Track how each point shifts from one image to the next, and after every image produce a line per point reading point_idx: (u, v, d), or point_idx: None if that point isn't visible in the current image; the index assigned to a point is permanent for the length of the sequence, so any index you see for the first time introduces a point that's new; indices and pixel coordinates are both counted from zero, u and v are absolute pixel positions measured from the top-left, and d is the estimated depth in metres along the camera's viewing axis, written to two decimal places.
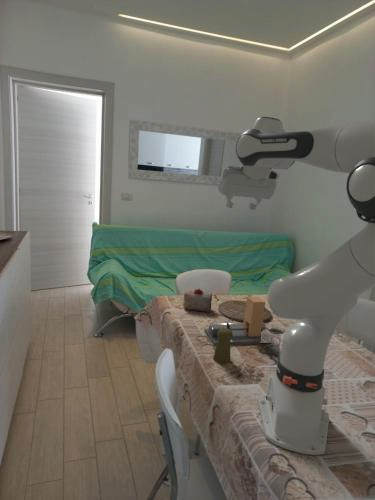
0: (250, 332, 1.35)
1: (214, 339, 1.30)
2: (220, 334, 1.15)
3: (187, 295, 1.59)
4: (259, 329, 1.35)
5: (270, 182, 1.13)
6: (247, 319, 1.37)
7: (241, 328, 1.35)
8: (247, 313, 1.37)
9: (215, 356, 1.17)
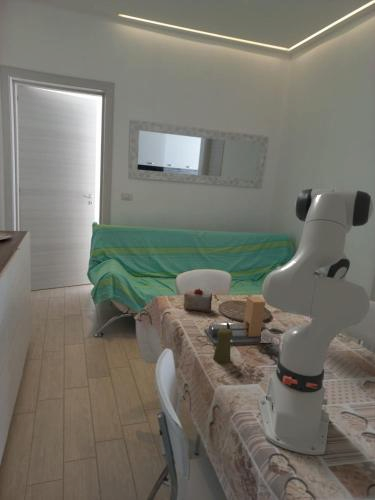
0: (250, 332, 1.35)
1: (214, 339, 1.30)
2: (220, 334, 1.15)
3: (187, 295, 1.59)
4: (259, 329, 1.35)
5: None
6: (247, 319, 1.37)
7: (241, 328, 1.35)
8: (247, 313, 1.37)
9: (215, 356, 1.17)
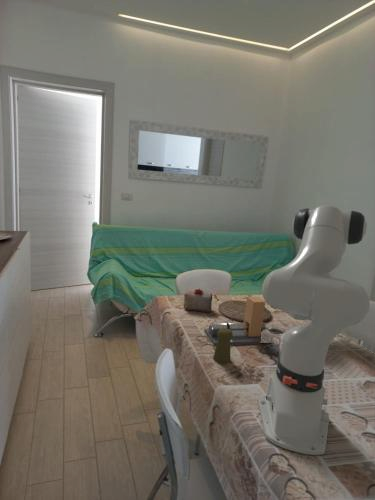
0: (250, 332, 1.35)
1: (214, 339, 1.30)
2: (220, 334, 1.15)
3: (187, 295, 1.59)
4: (259, 329, 1.35)
5: None
6: (247, 319, 1.37)
7: (241, 328, 1.35)
8: (247, 313, 1.37)
9: (215, 356, 1.17)
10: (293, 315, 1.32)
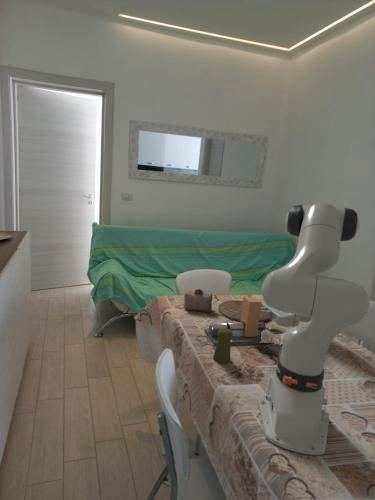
0: (246, 332, 1.34)
1: (214, 339, 1.30)
2: (220, 334, 1.15)
3: (187, 295, 1.59)
4: (255, 329, 1.35)
5: (289, 312, 1.33)
6: (243, 319, 1.36)
7: (241, 328, 1.35)
8: (243, 313, 1.36)
9: (215, 356, 1.17)
10: (277, 321, 1.30)
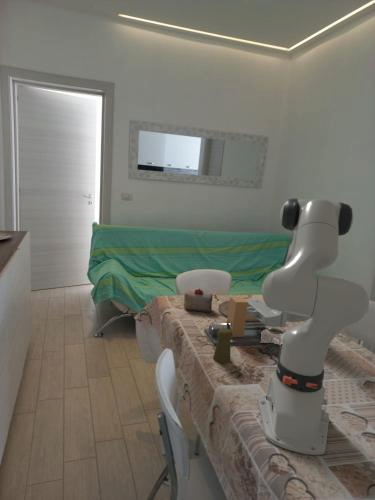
0: (233, 333, 1.33)
1: (214, 339, 1.30)
2: (220, 334, 1.15)
3: (188, 295, 1.59)
4: (242, 329, 1.33)
5: (276, 312, 1.31)
6: (230, 319, 1.35)
7: None
8: (230, 313, 1.35)
9: (215, 356, 1.17)
10: (264, 321, 1.28)
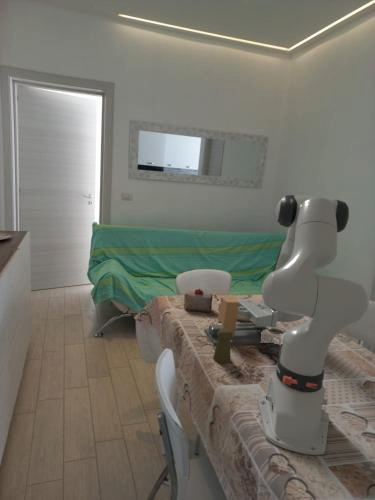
0: None
1: (214, 339, 1.30)
2: (220, 334, 1.15)
3: (188, 295, 1.59)
4: (233, 330, 1.32)
5: (267, 312, 1.30)
6: (221, 319, 1.34)
7: (241, 328, 1.35)
8: (221, 314, 1.34)
9: (215, 356, 1.17)
10: (254, 321, 1.27)
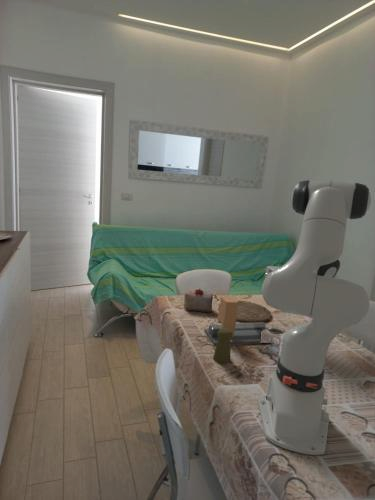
0: None
1: (214, 339, 1.30)
2: (220, 334, 1.15)
3: (188, 295, 1.59)
4: (232, 330, 1.32)
5: None
6: (220, 319, 1.33)
7: (241, 328, 1.35)
8: (220, 314, 1.34)
9: (215, 356, 1.17)
10: None
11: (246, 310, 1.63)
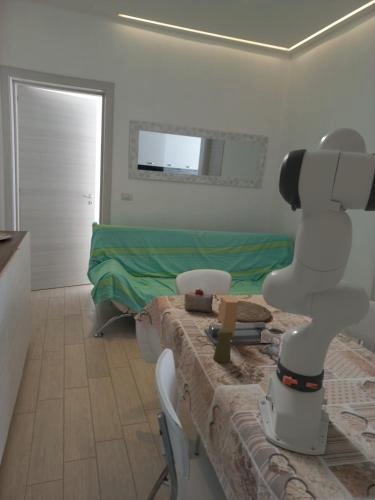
0: None
1: (214, 339, 1.30)
2: (220, 334, 1.15)
3: (188, 296, 1.58)
4: (232, 330, 1.32)
5: None
6: (220, 319, 1.33)
7: (241, 328, 1.35)
8: (220, 314, 1.34)
9: (215, 356, 1.17)
10: None
11: (246, 310, 1.63)
